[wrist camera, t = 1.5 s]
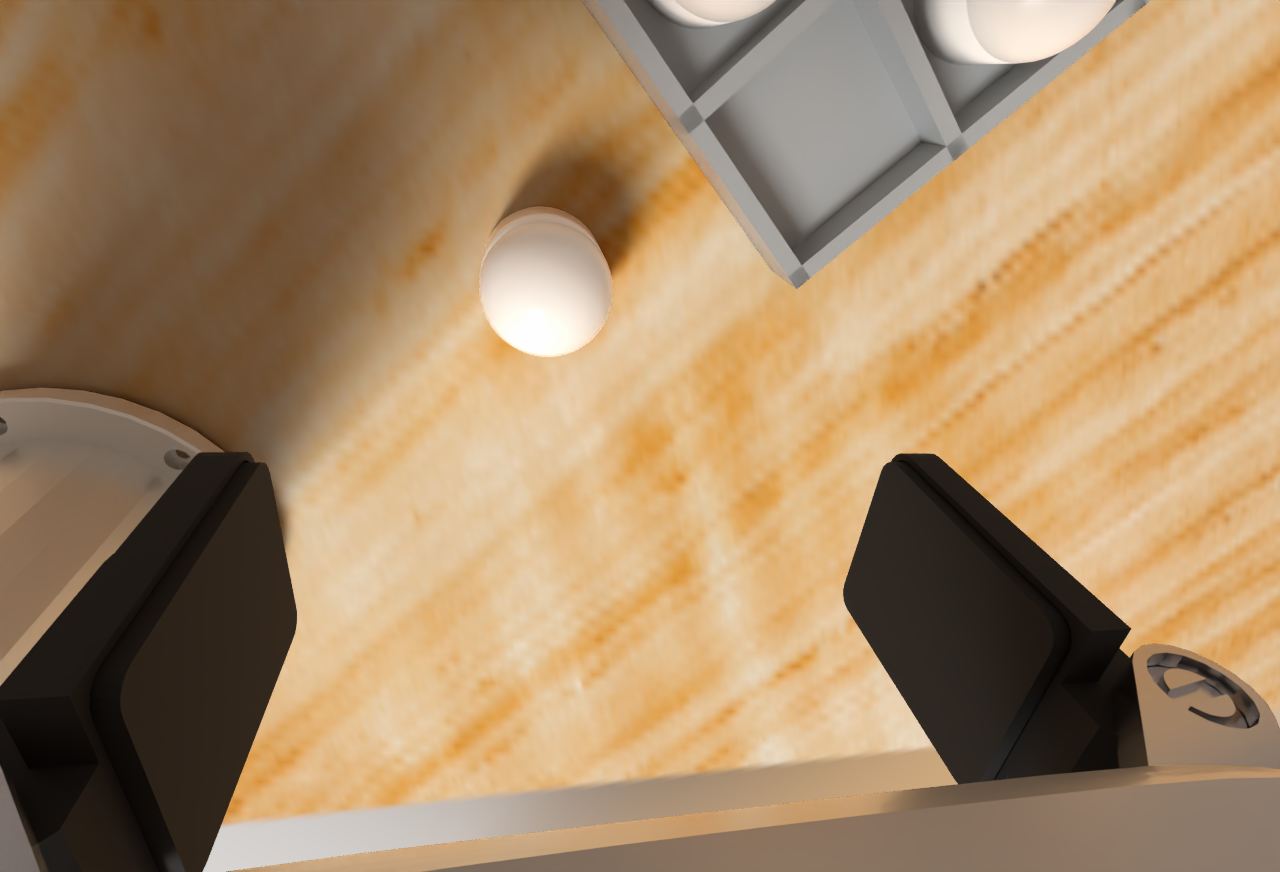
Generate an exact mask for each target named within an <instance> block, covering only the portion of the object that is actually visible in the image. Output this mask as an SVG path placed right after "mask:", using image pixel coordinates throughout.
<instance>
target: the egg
mask: <svg viewBox="0 0 1280 872" xmlns="http://www.w3.org/2000/svg"><path fill="white" fill-rule="evenodd" d="M479 295H480V301H481V306H482V309H483V311H484V314H485V316H486V318H487V320H488V322H489V323H490V325H491V326H492V328H493V329H494V331H495V332H496V333H497V334H498V335H499V336H500V337H501V338H502V339H503V340H504V341H505V342H507V343H508V344H510V345H511V346H513V347H514V348H516V349H518V350H520V351H522V352H525V353H528V354H531V355H536V356H543V357H554V356H561V355H565V354H568V353H571V352H574V351H576V350H578V349H580V348H581V347H583V346H585V345H586V344H587V343H589V342H590V341H591V340H592V339H593V338H594V337H595V336H596V335H597V334H598V333H599V331H600V330H601V329H602V327H603V325H604V324H605V322H606V320H607V318H608V315H609V313H610V309H611V305H612V299H613V282H612V276H611V272H610V269H609V266H608V263H607V261H606V259H605V257H604V255H603V253H602V251H601V249H600V247H599V245H598V244H597V242H596V240H595V238H594V236H593V235H592V233H591V232H590V231H589V229H588V228H587V227H586V226H585V225H584V224H583V223H582V222H581V221H580V220H578V219H577V218H576V217H574V216H573V215H571V214H569V213H567V212H565V211H563V210H560V209H556V208H552V207H545V206H536V207H529V208H525V209H521V210H519V211H516V212H514V213H512V214H511V215H509V216H507V217H506V218H505V219H503V220H502V221H501V222H500V223H499V224H498V225H497V226H496V227H495V228H494V230H493V231H492V233H491V234H490V236H489V238H488V240H487V242H486V245H485V248H484V251H483V257H482V263H481V270H480V277H479Z"/></svg>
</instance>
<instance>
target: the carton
mask: <svg viewBox="0 0 1280 872" xmlns="http://www.w3.org/2000/svg"><path fill="white" fill-rule="evenodd" d="M1149 1H1150V0H582V2H583V3H584V4H585V6H586V7H587V9H588V10H589V12H590V13H591V14H592V16H593V17H594V19H595V20H596V21H597V23H598V24H599V26H600V27H601V29H602V30H603V31H604V33H605V34H606V36H607V37H608V39H609V40H610V41H611V43H612V44H613V46H614V47H615V48H616V50H617V51H618V53H619V54H620V56H621V57H622V58H623V60H624V61H625V63H626V64H627V65H628V67H629V68H630V70H631V71H632V73H633V74H634V75H635V77H636V78H637V80H638V81H639V83H640V84H641V85H642V87H643V88H644V90H645V91H646V92H647V94H648V95H649V97H650V98H651V100H652V101H653V102H654V104H655V105H656V107H657V108H658V109H659V111H660V112H661V114H662V115H663V117H664V118H665V119H666V121H667V122H668V124H669V125H670V127H671V128H672V129H673V131H674V132H675V134H676V135H677V136H678V138H679V139H680V141H681V142H682V144H683V145H684V146H685V148H686V149H687V151H688V152H689V153H690V155H691V156H692V158H693V159H694V161H695V162H696V163H697V165H698V166H699V168H700V169H701V171H702V172H703V173H704V175H705V176H706V178H707V179H708V180H709V182H710V183H711V185H712V186H713V188H714V189H715V190H716V192H717V193H718V195H719V196H720V197H721V199H722V200H723V202H724V203H725V205H726V206H727V207H728V209H729V210H730V212H731V213H732V214H733V216H734V217H735V219H736V220H737V222H738V223H739V224H740V226H741V227H742V229H743V230H744V232H745V233H746V234H747V236H748V237H749V239H750V240H751V241H752V243H753V244H754V246H755V247H756V249H757V250H758V251H759V253H760V254H761V256H762V257H763V258H764V260H765V261H766V263H767V264H768V266H769V267H770V268H771V270H772V271H773V272H774V273H776V274H777V275H778V276H780V277H781V278H782V279H784V280H785V281H786V282H788V283H789V284H791V285H792V286H793V287H795V288H796V289H797V288H799V287H800V286H801V285H802V284H803V283H805V282H806V281H807V280H808V279H810V278H811V277H812V276H813V275H814V274H816V273H817V272H818V271H819V270H821V269H822V268H823V267H824V266H826V265H827V264H828V263H829V262H830V261H832V260H833V259H834V258H835V257H837V256H838V255H839V254H840V253H841V252H843V251H844V250H845V249H846V248H848V247H849V246H850V245H851V244H852V243H854V242H855V241H856V240H857V239H859V238H860V237H861V236H862V235H864V234H865V233H866V232H867V231H868V230H870V229H871V228H872V227H873V226H875V225H876V224H877V223H878V222H879V221H881V220H882V219H883V218H884V217H886V216H887V215H888V214H889V213H890V212H892V211H893V210H894V209H895V208H897V207H898V206H899V205H900V204H902V203H903V202H904V201H905V200H906V199H908V198H909V197H910V196H911V195H913V194H914V193H915V192H916V191H917V190H919V189H920V188H921V187H922V186H924V185H925V184H926V183H927V182H928V181H930V180H931V179H932V178H933V177H935V176H936V175H937V174H938V173H940V172H941V171H942V170H943V169H944V168H946V167H947V166H948V165H949V164H951V163H952V162H953V161H954V160H955V159H957V158H958V157H959V156H960V155H962V154H963V153H964V152H965V151H966V150H968V149H969V148H970V147H971V146H973V145H974V144H975V143H976V142H978V141H979V140H980V139H981V138H982V137H984V136H985V135H986V134H987V133H989V132H990V131H991V130H992V129H993V128H995V127H996V126H997V125H998V124H1000V123H1001V122H1002V121H1003V120H1004V119H1006V118H1007V117H1008V116H1009V115H1011V114H1012V113H1013V112H1014V111H1015V110H1017V109H1018V108H1019V107H1020V106H1022V105H1023V104H1024V103H1025V102H1027V101H1028V100H1029V99H1030V98H1031V97H1033V96H1034V95H1035V94H1036V93H1038V92H1039V91H1040V90H1041V89H1042V88H1044V87H1045V86H1046V85H1047V84H1049V83H1050V82H1051V81H1052V80H1053V79H1055V78H1056V77H1057V76H1058V75H1060V74H1061V73H1062V72H1063V71H1065V70H1066V69H1067V68H1068V67H1069V66H1071V65H1072V64H1073V63H1074V62H1076V61H1077V60H1078V59H1079V58H1080V57H1082V56H1083V55H1084V54H1085V53H1087V52H1088V51H1089V50H1090V49H1091V48H1093V47H1094V46H1095V45H1096V44H1098V43H1099V42H1100V41H1101V40H1103V39H1104V38H1105V37H1106V36H1107V35H1109V34H1110V33H1111V32H1112V31H1114V30H1115V29H1116V28H1117V27H1118V26H1120V25H1121V24H1122V23H1123V22H1125V21H1126V20H1127V19H1128V18H1129V17H1131V16H1132V15H1133V14H1134V13H1136V12H1137V11H1138V10H1139V9H1141V8H1142V7H1143V6H1144V5H1145V4H1147V3H1148V2H1149Z"/></svg>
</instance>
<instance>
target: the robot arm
mask: <svg viewBox="0 0 1280 872" xmlns="http://www.w3.org/2000/svg"><path fill="white" fill-rule="evenodd" d="M843 596H844V602H845V605H846V607H847V609H848V611H849V613H850V614H851V616H852V617H853V619H854V620H855V622H856V624H857V625H858V627H859V628H860V630H861V632H862V633H863V635H864V636H865V638H866V640H867V641H868V643H869V644H870V646H871V647H872V649H873V651H874V652H875V654H876V655H877V657H878V659H879V660H880V662H881V663H882V665H883V666H884V668H885V670H886V671H887V673H888V674H889V676H890V678H891V679H892V681H893V682H894V684H895V686H896V687H897V689H898V690H899V692H900V693H901V695H902V697H903V698H904V700H905V701H906V703H907V705H908V706H909V708H910V709H911V711H912V713H913V714H914V716H915V717H916V719H917V720H918V722H919V724H920V725H921V727H922V728H923V730H924V732H925V733H926V735H927V736H928V738H929V739H930V741H931V743H932V744H933V746H934V747H935V749H936V751H937V752H938V754H939V755H940V757H941V759H942V760H943V762H944V763H945V765H946V766H947V768H948V770H949V771H950V773H951V774H952V776H953V778H954V779H955V780H956V782H957V783H958V785H949V786H939V787H930V788H921V789H912V790H902V791H893V792H884V793H875V794H865V795H856V796H847V797H838V798H830V799H822V800H812V801H803V802H794V803H785V804H777V805H768V806H759V807H750V808H741V809H733V810H724V811H715V812H706V813H698V814H689V815H680V816H672V817H663V818H654V819H646V820H637V821H628V822H620V823H610V824H602V825H594V826H586V827H577V828H569V829H560V830H552V831H543V832H535V833H527V834H518V835H511V836H502V837H494V838H486V839H478V840H469V841H460V842H452V843H443V844H435V845H427V846H418V847H410V848H401V849H393V850H385V851H376V852H368V853H360V854H353V855H346V856H338V857H331V858H323V859H316V860H309V861H302V862H294V863H287V864H280V865H272V866H265V867H258V868H250V869H243V870H235V871H228V872H1280V728H1279V726H1278V723H1277V720H1276V718H1275V716H1274V714H1273V713H1272V711H1271V709H1270V708H1269V706H1268V704H1267V703H1266V702H1265V701H1264V700H1263V699H1262V698H1261V697H1260V695H1259V694H1258V693H1257V692H1256V691H1255V690H1254V689H1253V688H1252V687H1250V686H1249V685H1248V684H1247V683H1245V682H1244V681H1243V680H1241V679H1240V678H1239V677H1237V676H1236V675H1235V674H1234V673H1232V672H1230V671H1229V670H1227V669H1225V668H1224V667H1222V666H1220V665H1218V664H1217V663H1215V662H1213V661H1211V660H1209V659H1207V658H1205V657H1202V656H1200V655H1198V654H1196V653H1194V652H1191V651H1188V650H1185V649H1181V648H1178V647H1175V646H1171V645H1162V644H1148V645H1142V646H1140V647H1139V648H1138V649H1137V650H1135V651H1134V652H1133V654H1132V656H1131V657H1130V658H1129V657H1128V656H1127V655H1126V654H1125V653H1124V652H1123V651H1122V650H1121V649H1119V648H1120V646H1121V644H1122V643H1123V641H1124V640H1125V638H1126V636H1127V635H1128V633H1129V632H1130V630H1131V628H1130V627H1129V626H1128V625H1126V624H1125V623H1124V622H1123V621H1122V620H1121V619H1120V618H1119V617H1118V616H1116V615H1115V614H1114V613H1113V612H1112V611H1111V610H1110V609H1109V608H1107V607H1106V606H1105V605H1104V604H1103V603H1102V602H1101V601H1100V600H1098V599H1097V598H1096V597H1095V596H1094V595H1093V594H1092V593H1091V592H1089V591H1088V590H1087V589H1086V588H1085V587H1084V586H1083V585H1082V584H1081V583H1079V582H1078V581H1077V580H1076V579H1075V578H1074V577H1073V576H1072V575H1070V574H1069V573H1068V572H1067V571H1066V570H1065V569H1064V568H1063V567H1061V566H1060V565H1059V564H1058V563H1057V562H1056V561H1055V560H1054V559H1053V558H1051V557H1050V556H1049V555H1048V554H1047V553H1046V552H1045V551H1044V550H1042V549H1041V548H1040V547H1039V546H1038V545H1037V544H1036V543H1035V542H1033V541H1032V540H1031V539H1030V538H1029V537H1028V536H1027V535H1026V534H1025V533H1023V532H1022V531H1021V530H1020V529H1019V528H1018V527H1017V526H1016V525H1014V524H1013V523H1012V522H1011V521H1010V520H1009V519H1008V518H1007V517H1005V516H1004V515H1003V514H1002V513H1001V512H1000V511H999V510H998V509H996V508H995V507H994V506H993V505H992V504H991V503H990V502H989V501H988V500H986V499H985V498H984V497H983V496H982V495H981V494H980V493H979V492H977V491H976V490H975V489H974V488H973V487H972V486H971V485H970V484H968V483H967V482H966V481H965V480H964V479H963V478H962V477H961V476H960V475H958V474H957V473H956V472H955V471H954V470H953V469H952V468H951V467H949V466H948V465H947V464H946V463H945V462H944V461H943V460H942V459H940V458H939V457H938V456H936V455H935V454H898V455H896V456H895V457H894V458H893V459H892V461H891V462H889V463H887V464H886V465H885V466H884V467H883V469H882V471H881V474H880V477H879V480H878V483H877V486H876V489H875V492H874V496H873V499H872V502H871V505H870V508H869V511H868V514H867V517H866V520H865V523H864V526H863V529H862V532H861V535H860V538H859V541H858V545H857V548H856V551H855V554H854V557H853V560H852V563H851V566H850V569H849V572H848V575H847V578H846V581H845V584H844V589H843ZM296 624H297V610H296V604H295V599H294V594H293V589H292V584H291V579H290V574H289V568H288V563H287V558H286V553H285V548H284V543H283V538H282V533H281V528H280V523H279V517H278V512H277V507H276V502H275V497H274V492H273V487H272V482H271V477H270V472H269V469H268V467H267V465H266V464H265V463H255V462H254V459H253V457H252V456H251V454H249V453H248V452H224V451H223V450H221V449H220V448H219V447H217V446H216V445H215V444H213V443H212V442H210V441H209V440H208V439H206V438H205V437H203V436H202V435H201V434H199V433H198V432H196V431H195V430H193V429H191V428H190V427H188V426H186V425H184V424H182V423H180V422H178V421H176V420H174V419H172V418H170V417H168V416H166V415H164V414H163V413H161V412H158V411H155V410H152V409H150V408H147V407H144V406H141V405H138V404H136V403H133V402H130V401H127V400H124V399H121V398H116V397H112V396H107V395H102V394H98V393H93V392H88V391H83V390H71V389H57V388H43V387H42V388H29V389H17V390H4V391H0V872H202V871H203V869H204V867H205V865H206V862H207V860H208V857H209V855H210V852H211V850H212V847H213V845H214V842H215V839H216V837H217V834H218V832H219V829H220V827H221V824H222V821H223V819H224V816H225V814H226V811H227V808H228V806H229V803H230V801H231V798H232V795H233V793H234V790H235V788H236V785H237V783H238V780H239V777H240V775H241V772H242V770H243V767H244V764H245V762H246V759H247V757H248V754H249V751H250V749H251V746H252V744H253V741H254V739H255V736H256V733H257V731H258V728H259V726H260V723H261V720H262V718H263V715H264V713H265V710H266V707H267V705H268V702H269V700H270V697H271V694H272V692H273V689H274V687H275V684H276V682H277V679H278V676H279V674H280V671H281V669H282V666H283V663H284V661H285V658H286V656H287V653H288V650H289V648H290V645H291V643H292V640H293V637H294V634H295V630H296Z"/></svg>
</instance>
